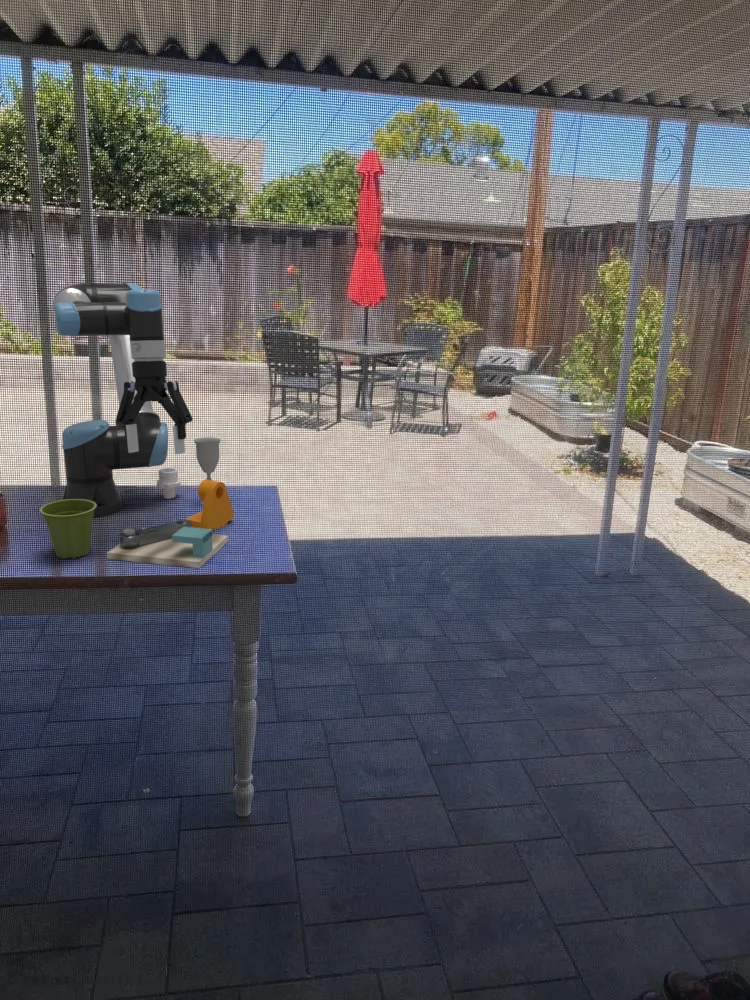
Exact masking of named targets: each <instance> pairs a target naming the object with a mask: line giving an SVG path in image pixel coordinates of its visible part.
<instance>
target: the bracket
mask: <svg viewBox="0 0 750 1000" xmlns="http://www.w3.org/2000/svg"><path fill="white" fill-rule="evenodd" d="M197 494H198V495H197V496H198V499H200V500H201V501H202V500H203V501H204V505H202V506H203V508H202V511H200V512H197V513H195V514H192V515H190V516H188V517H186V518H185V520H190V521H191V526H192V527H193V528H203V529H213V530H215V531H216V529H217V528H219V527H221V526H223V525H225V524H227V523H228V522H229V521H231V520H234V518H235V517H234V510H233V506H232V503H231V500H230V497H229V492H228V489H227V487H226V484H225V483H224V482H222V481H217V480H213V479H212V480H206V479H203V480H201V482H200V483H199V485H198V489H197ZM227 525H228V524H227ZM225 526H226V525H225ZM223 527H224V526H223ZM221 528H222V527H221ZM219 529H220V528H219ZM217 530H218V529H217Z"/></svg>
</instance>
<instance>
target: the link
mask: <svg viewBox="0 0 750 1000" xmlns="http://www.w3.org/2000/svg"><path fill="white" fill-rule="evenodd" d="M183 527H192V526H191V521H190V520H186V519H180V520H175V521H171V522H167V523H164V524H163V523H161V524H157V525H153V526H151V527H150V526H149V527H144V528H145V529H142V528H141V529H137V530H136V529H135V534H134V535H131V536H125V535H123V532H122V533H120V534H119V535H118V536H119V544H120V547H121V548H124V549H132V548H136V547H138V546H141V545H145V544H149V543H153V542H157V541H161V540H165V539H169V538H172V535H173V534H175V533H176V532H177V531H179V530H180V529H181V528H183Z"/></svg>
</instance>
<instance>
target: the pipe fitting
mask: <svg viewBox="0 0 750 1000" xmlns="http://www.w3.org/2000/svg"><path fill="white" fill-rule="evenodd" d="M181 481H182V480H181V478H179V470H178V469H177V468H175V467H174V468H173V467H164V468H161V469H159V470H158V479H156V487H158V488H162V489H163V499H165V498H166V500H172V499H171V498H173V499H175V498H176V487H180V486H181V485H182V484H181V483H182V482H181ZM174 497H175V498H174Z"/></svg>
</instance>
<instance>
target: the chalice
mask: <svg viewBox="0 0 750 1000" xmlns="http://www.w3.org/2000/svg"><path fill="white" fill-rule="evenodd" d="M221 441H222V440H221V438H218V437H213V436H211V437H209V436H207V437H205V436H204V437H198V438H194V439H193V442H194V444H195V453H196V454H195V455H196V459H197V462H198V464H199V467H200V469H201V470H202V472H203V473H205V474H206V479H205V480H212V481H213V479H212V476H211V475H212V473H214V472H215V471H216V468H217V465H218V464H219V460H220V443H221ZM200 504H202V505H201V506H204V501H203V500H201V502H200Z"/></svg>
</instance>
